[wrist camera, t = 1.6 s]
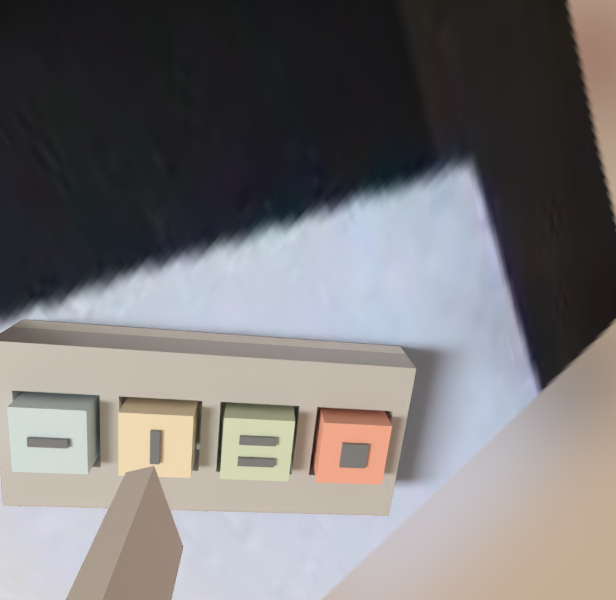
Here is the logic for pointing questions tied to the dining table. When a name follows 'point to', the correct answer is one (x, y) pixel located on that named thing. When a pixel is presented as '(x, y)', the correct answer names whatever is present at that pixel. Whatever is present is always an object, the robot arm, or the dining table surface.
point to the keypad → (204, 408)
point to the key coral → (351, 446)
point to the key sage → (257, 442)
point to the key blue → (54, 432)
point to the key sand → (157, 436)
